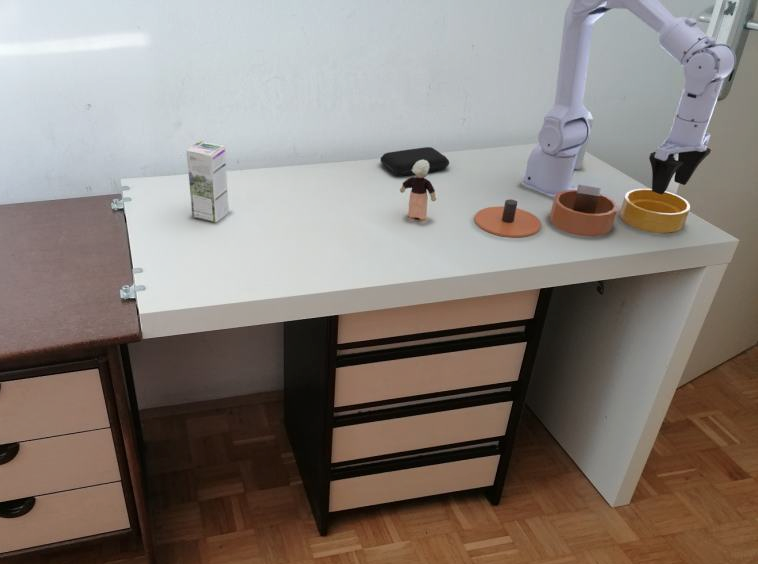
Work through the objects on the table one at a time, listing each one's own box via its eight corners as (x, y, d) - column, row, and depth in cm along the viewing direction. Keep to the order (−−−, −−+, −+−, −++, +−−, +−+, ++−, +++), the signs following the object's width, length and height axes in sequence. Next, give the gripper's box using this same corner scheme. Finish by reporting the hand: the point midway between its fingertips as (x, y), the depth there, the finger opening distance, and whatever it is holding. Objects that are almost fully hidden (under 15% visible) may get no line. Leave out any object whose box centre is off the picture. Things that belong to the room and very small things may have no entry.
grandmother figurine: (435, 218, 149) (443, 159, 142) (432, 226, 146) (439, 166, 139) (398, 213, 151) (404, 154, 144) (394, 220, 148) (400, 161, 141)
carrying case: (429, 154, 178) (374, 162, 173) (430, 142, 176) (375, 149, 172) (451, 170, 170) (395, 179, 165) (453, 158, 168) (396, 166, 164)
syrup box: (229, 212, 151) (226, 144, 142) (215, 224, 146) (211, 154, 138) (206, 207, 153) (201, 139, 144) (191, 218, 148) (185, 149, 140)
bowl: (607, 218, 150) (613, 198, 148) (639, 203, 156) (645, 183, 154) (662, 241, 143) (670, 220, 140) (694, 223, 149) (701, 203, 146)
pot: (537, 222, 149) (542, 199, 146) (571, 206, 155) (577, 184, 152) (588, 244, 141) (595, 221, 138) (623, 227, 147) (629, 204, 144)
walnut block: (568, 225, 147) (577, 192, 142) (570, 216, 150) (578, 184, 146) (590, 228, 145) (599, 196, 141) (591, 220, 149) (600, 187, 144)
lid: (460, 222, 148) (464, 199, 145) (501, 205, 155) (505, 183, 152) (512, 246, 140) (517, 222, 137) (553, 227, 147) (558, 204, 144)
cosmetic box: (581, 170, 171) (594, 119, 164) (562, 168, 172) (574, 118, 165) (578, 160, 176) (590, 111, 169) (560, 159, 176) (571, 109, 169)
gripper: (691, 131, 125) (666, 204, 133) (735, 115, 132) (709, 185, 140) (654, 119, 130) (632, 191, 138) (698, 105, 137) (675, 173, 145)
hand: (668, 187), depth 139 cm, fingers open, 7 cm apart
